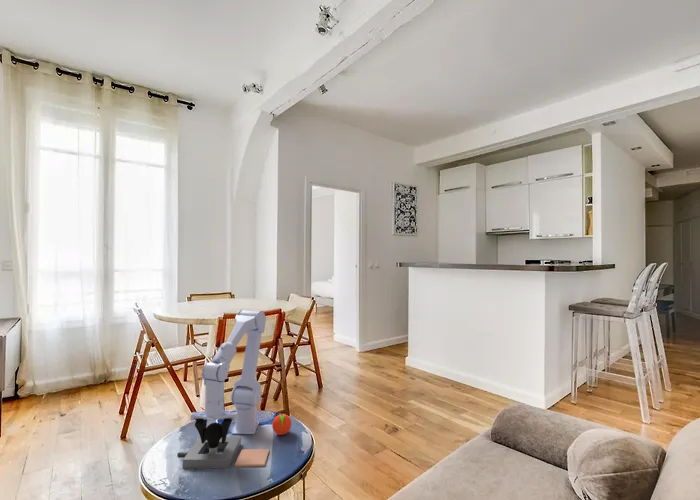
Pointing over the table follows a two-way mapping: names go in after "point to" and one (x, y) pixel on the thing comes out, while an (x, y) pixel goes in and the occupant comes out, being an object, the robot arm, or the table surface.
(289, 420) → the clementine
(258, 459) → the terracotta tile
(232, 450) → the socket block
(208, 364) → the robot arm
